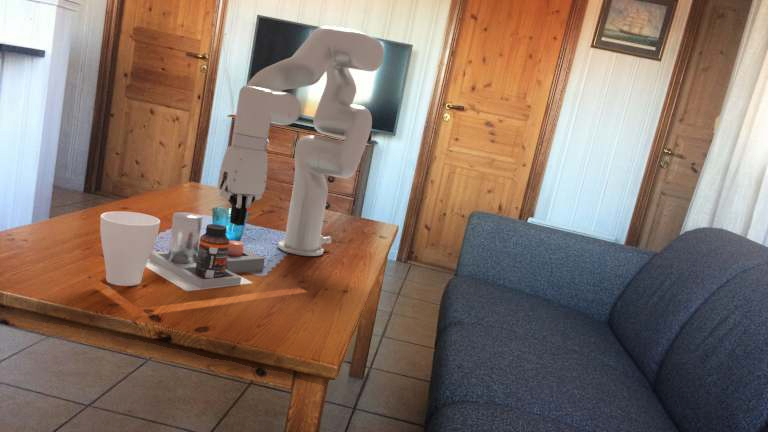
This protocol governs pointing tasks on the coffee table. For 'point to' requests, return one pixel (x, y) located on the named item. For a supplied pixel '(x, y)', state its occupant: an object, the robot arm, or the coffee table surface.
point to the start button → (235, 249)
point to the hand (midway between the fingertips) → (236, 224)
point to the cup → (127, 245)
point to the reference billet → (184, 238)
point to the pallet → (189, 274)
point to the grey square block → (245, 262)
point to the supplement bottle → (212, 252)
